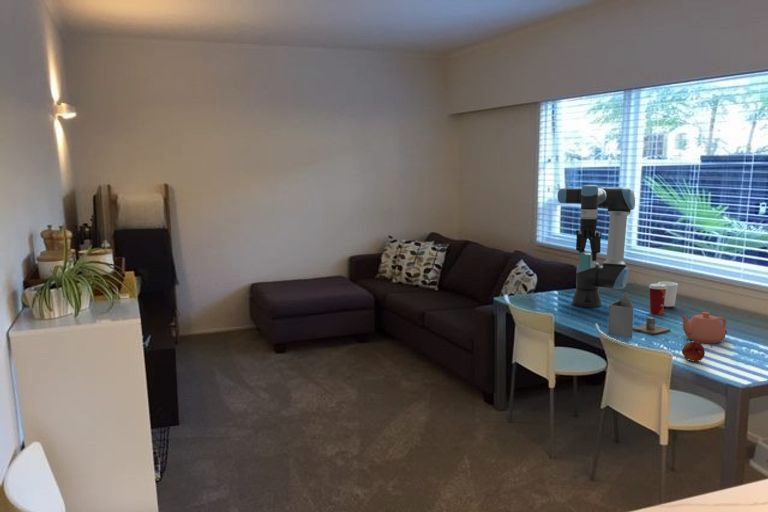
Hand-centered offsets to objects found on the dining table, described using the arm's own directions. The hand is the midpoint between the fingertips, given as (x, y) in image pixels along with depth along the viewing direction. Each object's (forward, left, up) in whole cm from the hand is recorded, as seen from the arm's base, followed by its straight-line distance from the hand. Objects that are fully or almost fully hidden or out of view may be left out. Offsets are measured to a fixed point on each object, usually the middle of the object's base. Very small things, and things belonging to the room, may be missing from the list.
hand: (587, 266), depth 284 cm
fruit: (+59, -7, -29) cm, 66 cm away
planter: (+17, +1, -29) cm, 34 cm away
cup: (-1, +64, -29) cm, 70 cm away
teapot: (+45, +22, -29) cm, 58 cm away
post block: (+23, +17, -29) cm, 41 cm away
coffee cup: (+5, +47, -29) cm, 55 cm away
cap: (0, 0, 0) cm, 0 cm away
